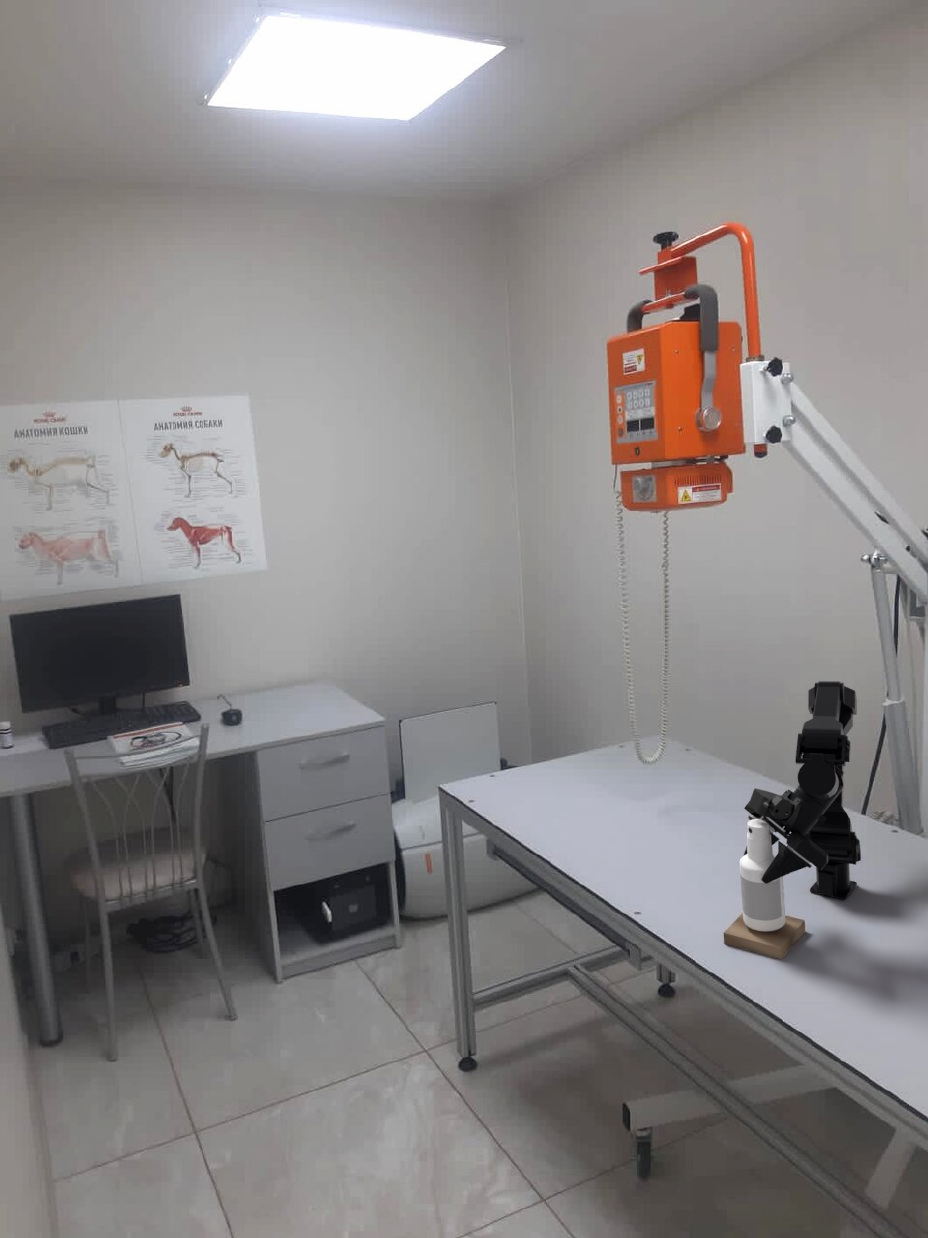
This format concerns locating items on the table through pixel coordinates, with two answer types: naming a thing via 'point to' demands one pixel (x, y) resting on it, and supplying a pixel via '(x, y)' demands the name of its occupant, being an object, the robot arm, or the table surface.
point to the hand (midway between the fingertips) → (753, 872)
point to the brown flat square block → (765, 937)
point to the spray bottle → (760, 881)
